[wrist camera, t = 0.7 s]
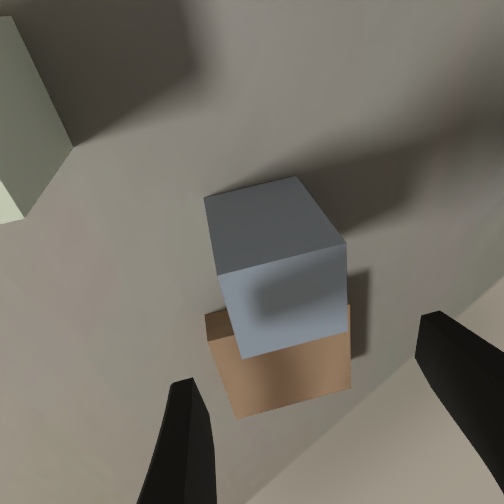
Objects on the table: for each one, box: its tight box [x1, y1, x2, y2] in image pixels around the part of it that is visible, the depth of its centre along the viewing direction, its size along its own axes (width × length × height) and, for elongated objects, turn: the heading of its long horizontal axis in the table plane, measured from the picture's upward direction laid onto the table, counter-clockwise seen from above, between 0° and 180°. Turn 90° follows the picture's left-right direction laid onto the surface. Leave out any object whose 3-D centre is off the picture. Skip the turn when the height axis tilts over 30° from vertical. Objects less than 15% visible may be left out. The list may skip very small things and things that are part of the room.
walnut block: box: [205, 300, 351, 419], centre depth 23 cm, size 8×8×2 cm
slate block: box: [204, 176, 348, 359], centre depth 16 cm, size 4×4×6 cm
